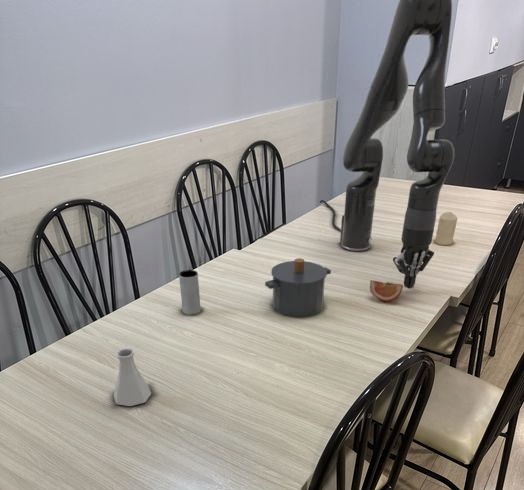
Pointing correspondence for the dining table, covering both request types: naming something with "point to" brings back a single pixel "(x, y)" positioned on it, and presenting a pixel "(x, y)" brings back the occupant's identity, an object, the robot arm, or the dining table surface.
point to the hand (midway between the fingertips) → (408, 287)
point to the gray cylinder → (190, 292)
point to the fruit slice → (385, 290)
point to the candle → (446, 229)
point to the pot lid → (299, 272)
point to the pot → (297, 297)
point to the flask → (129, 381)
